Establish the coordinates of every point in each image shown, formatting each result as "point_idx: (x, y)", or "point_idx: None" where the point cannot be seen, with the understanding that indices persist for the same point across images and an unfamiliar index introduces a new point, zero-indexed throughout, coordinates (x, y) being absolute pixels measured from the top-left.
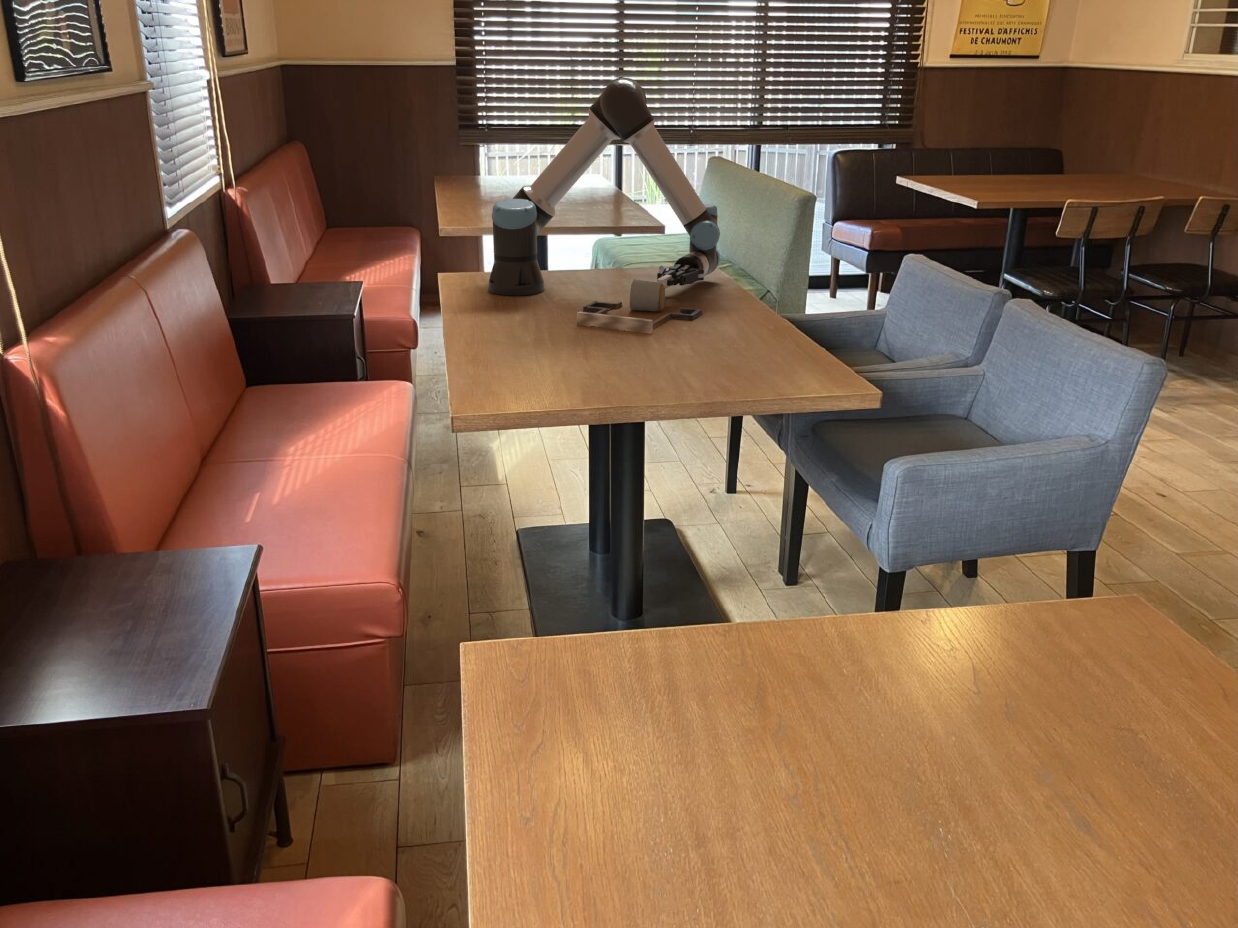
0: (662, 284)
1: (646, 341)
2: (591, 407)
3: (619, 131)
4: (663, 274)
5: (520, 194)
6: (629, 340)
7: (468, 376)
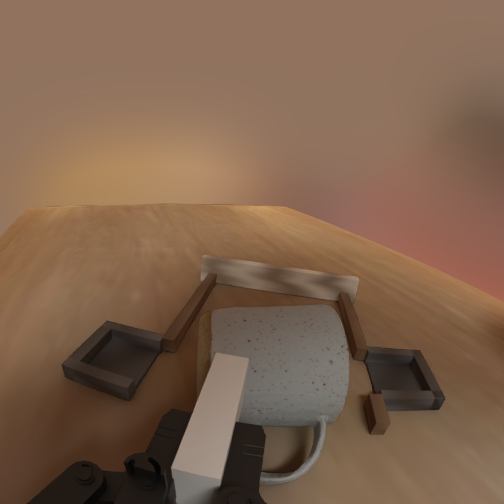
0: (206, 319)
1: None
2: (220, 205)
3: None
4: (250, 497)
5: None
6: None
7: (327, 225)
